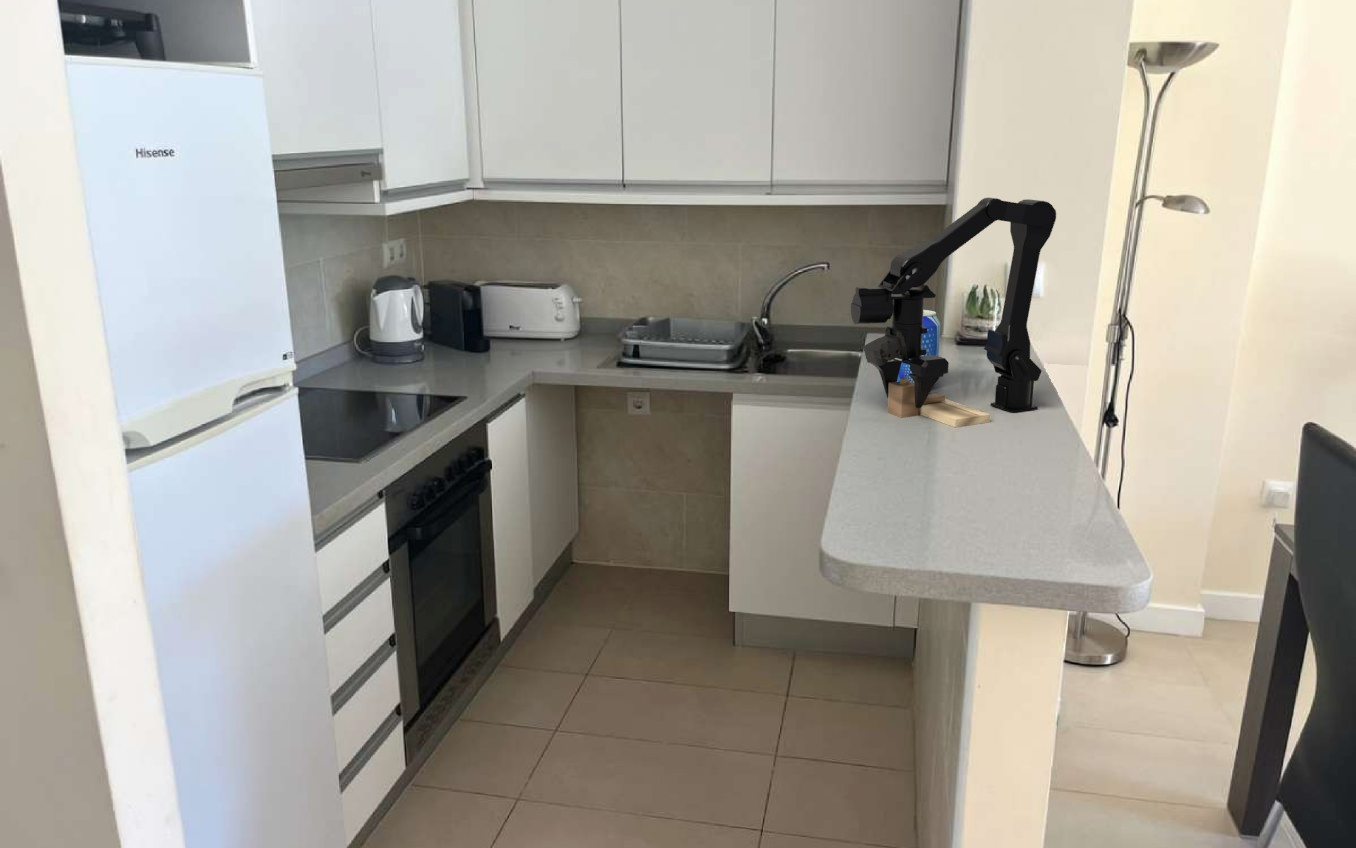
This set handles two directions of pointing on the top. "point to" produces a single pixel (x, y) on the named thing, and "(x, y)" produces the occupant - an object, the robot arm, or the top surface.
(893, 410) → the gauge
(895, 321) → the robot arm
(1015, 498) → the top surface
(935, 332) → the beer can
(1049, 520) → the top surface
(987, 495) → the top surface
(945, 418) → the board
